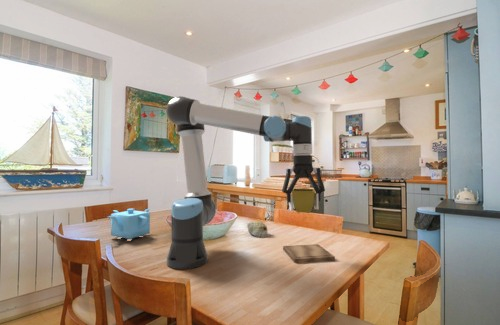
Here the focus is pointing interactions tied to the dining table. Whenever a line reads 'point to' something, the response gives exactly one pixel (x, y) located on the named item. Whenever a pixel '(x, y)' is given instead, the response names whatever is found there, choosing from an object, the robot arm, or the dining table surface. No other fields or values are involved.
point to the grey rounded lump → (257, 229)
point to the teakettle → (130, 223)
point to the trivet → (308, 253)
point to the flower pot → (303, 200)
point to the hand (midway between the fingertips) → (303, 209)
